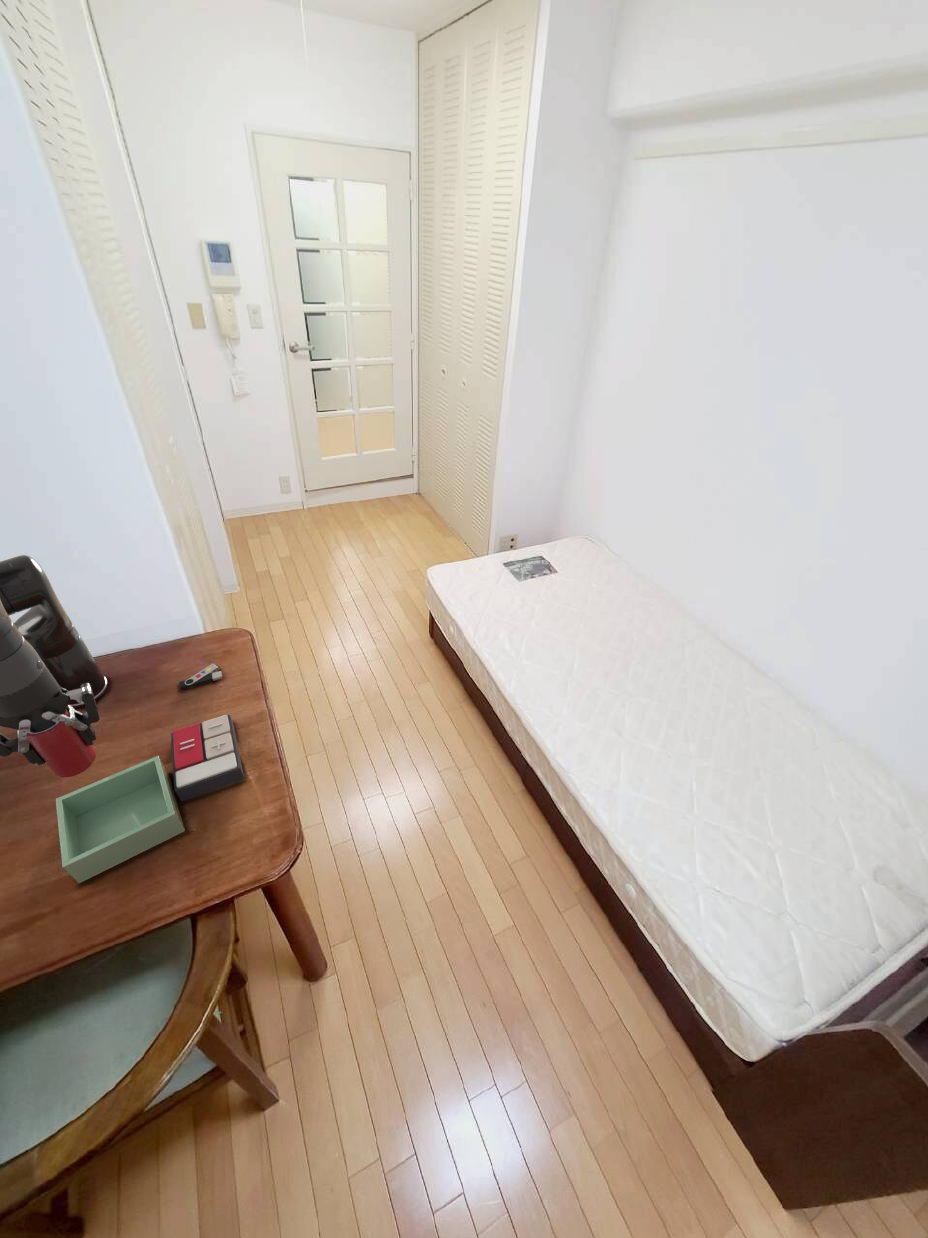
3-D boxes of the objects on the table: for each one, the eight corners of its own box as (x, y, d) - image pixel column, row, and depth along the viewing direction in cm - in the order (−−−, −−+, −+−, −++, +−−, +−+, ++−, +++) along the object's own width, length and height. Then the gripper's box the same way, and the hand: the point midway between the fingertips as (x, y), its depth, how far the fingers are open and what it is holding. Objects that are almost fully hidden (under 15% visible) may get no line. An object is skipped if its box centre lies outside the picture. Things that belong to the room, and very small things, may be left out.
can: (52, 757, 79) (17, 714, 72) (93, 741, 82) (64, 698, 75) (55, 784, 76) (19, 741, 69) (98, 766, 78) (68, 723, 72)
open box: (71, 817, 88) (55, 799, 84) (169, 774, 96) (158, 755, 92) (80, 885, 80) (62, 867, 76) (186, 832, 87) (174, 814, 83)
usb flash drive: (181, 691, 111) (179, 688, 111) (179, 675, 115) (178, 672, 114) (222, 679, 114) (221, 676, 114) (220, 664, 118) (219, 661, 117)
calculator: (229, 711, 103) (239, 766, 92) (234, 725, 106) (244, 780, 95) (169, 729, 99) (172, 789, 88) (176, 743, 102) (180, 803, 91)
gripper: (70, 637, 72) (116, 714, 83) (-63, 677, 65) (7, 755, 76) (76, 670, 67) (124, 746, 78) (-66, 716, 60) (9, 793, 71)
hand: (66, 750), depth 77 cm, fingers closed on can, 5 cm apart
